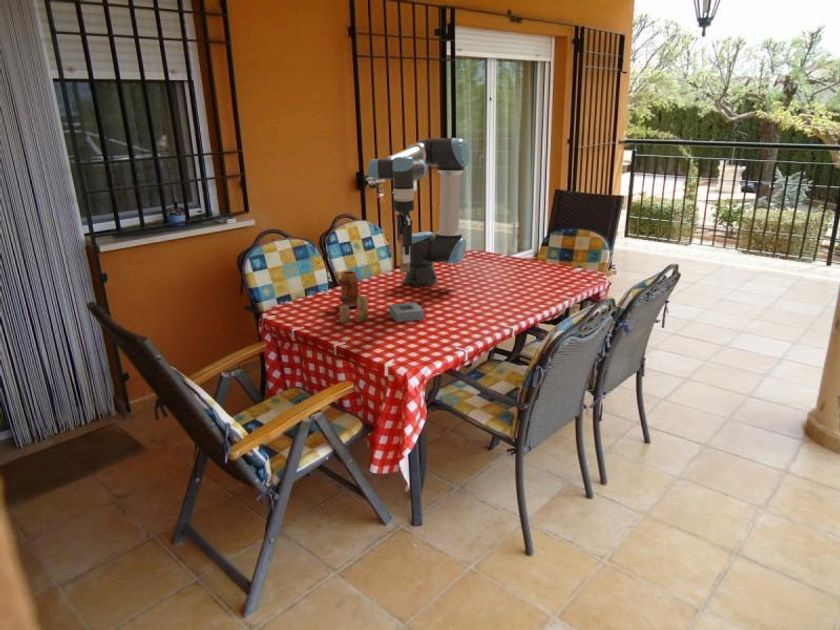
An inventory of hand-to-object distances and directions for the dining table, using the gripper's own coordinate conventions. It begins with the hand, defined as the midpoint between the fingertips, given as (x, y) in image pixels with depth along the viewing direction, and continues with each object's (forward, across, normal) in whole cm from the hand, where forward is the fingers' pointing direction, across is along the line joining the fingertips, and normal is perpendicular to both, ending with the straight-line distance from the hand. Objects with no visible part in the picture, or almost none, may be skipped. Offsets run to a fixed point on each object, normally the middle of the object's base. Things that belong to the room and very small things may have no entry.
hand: (404, 261), depth 238 cm
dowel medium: (+22, -2, -17) cm, 28 cm away
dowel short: (+22, -2, -24) cm, 33 cm away
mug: (+22, -18, -18) cm, 34 cm away
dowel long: (+4, 0, 0) cm, 4 cm away
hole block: (+22, 0, 0) cm, 22 cm away
